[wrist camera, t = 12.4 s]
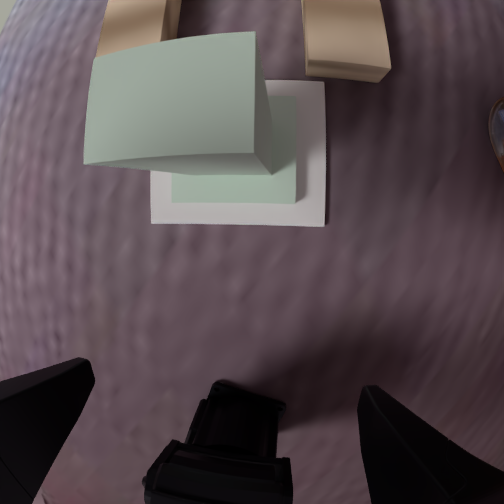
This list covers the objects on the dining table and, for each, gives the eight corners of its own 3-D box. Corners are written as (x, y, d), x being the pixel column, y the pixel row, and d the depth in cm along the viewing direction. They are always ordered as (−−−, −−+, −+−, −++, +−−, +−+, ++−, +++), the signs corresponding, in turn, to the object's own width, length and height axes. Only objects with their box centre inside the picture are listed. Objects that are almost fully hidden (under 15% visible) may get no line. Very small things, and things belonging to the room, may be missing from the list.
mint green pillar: (294, 203, 19) (313, 226, 7) (176, 202, 20) (51, 223, 8) (295, 100, 18) (308, -12, 6) (179, 104, 19) (69, 29, 7)
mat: (323, 226, 20) (324, 226, 20) (153, 223, 21) (151, 223, 21) (323, 83, 18) (324, 81, 18) (156, 90, 19) (154, 89, 19)
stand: (378, 83, 17) (391, 68, 14) (112, 92, 19) (91, 82, 16) (362, -20, 15) (369, -39, 12) (129, -5, 17) (114, -21, 14)
